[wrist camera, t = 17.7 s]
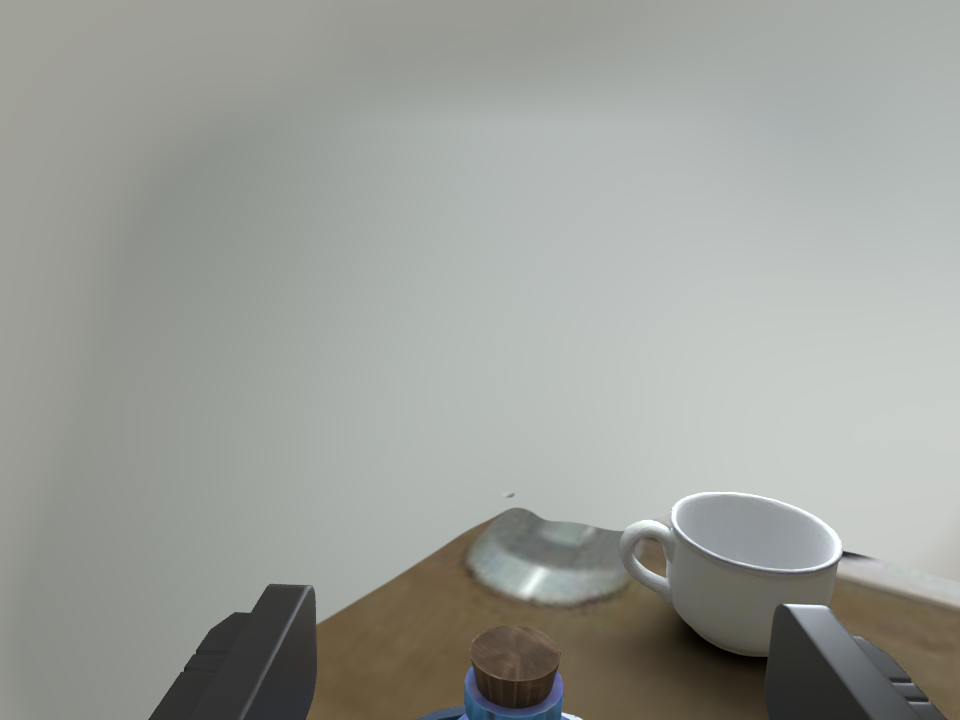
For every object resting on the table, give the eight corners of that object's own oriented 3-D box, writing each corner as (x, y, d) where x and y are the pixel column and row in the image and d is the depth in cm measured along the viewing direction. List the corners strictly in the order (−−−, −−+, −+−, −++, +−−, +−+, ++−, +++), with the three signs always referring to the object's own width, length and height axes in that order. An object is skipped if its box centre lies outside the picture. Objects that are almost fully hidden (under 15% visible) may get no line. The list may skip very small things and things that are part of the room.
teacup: (809, 601, 52) (822, 500, 50) (848, 696, 41) (865, 572, 40) (618, 575, 55) (624, 479, 53) (610, 657, 45) (617, 541, 43)
